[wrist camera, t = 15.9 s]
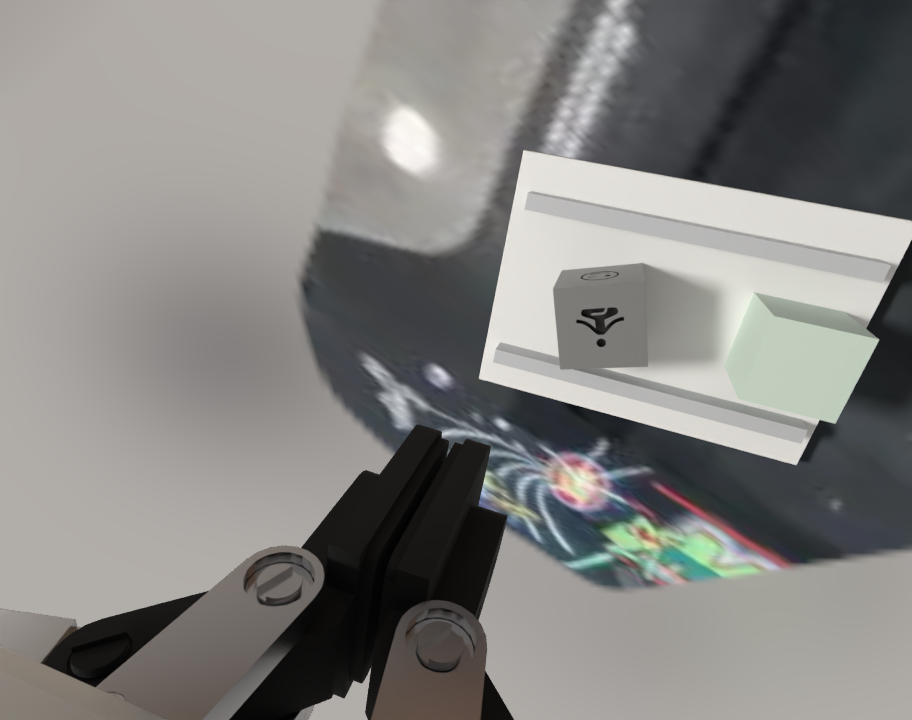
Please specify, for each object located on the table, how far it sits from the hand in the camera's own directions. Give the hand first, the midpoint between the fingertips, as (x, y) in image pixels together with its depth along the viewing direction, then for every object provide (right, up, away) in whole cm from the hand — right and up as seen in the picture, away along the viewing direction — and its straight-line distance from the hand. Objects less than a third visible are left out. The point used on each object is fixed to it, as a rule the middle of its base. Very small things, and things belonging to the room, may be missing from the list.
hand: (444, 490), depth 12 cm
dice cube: (+10, +7, +24) cm, 27 cm away
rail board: (+14, +6, +24) cm, 28 cm away
